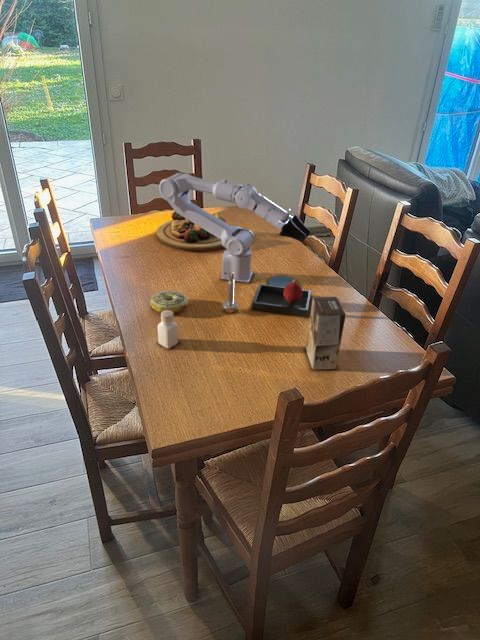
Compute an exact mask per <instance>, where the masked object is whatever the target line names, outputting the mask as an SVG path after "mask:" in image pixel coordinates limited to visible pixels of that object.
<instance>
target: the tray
mask: <svg viewBox="0 0 480 640" xmlns="http://www.w3.org/2000/svg"><path fill="white" fill-rule="evenodd" d="M284 288H285V287H280V286H272V285H269V284H265V283H259V284H258V287H257V290H256V292H255V295H254V298H253V300H252V307H251V310H255V311H261V312H267V313H274V314H281V315H288V316H295V317H303V318H308V313H309V307H310V302H311V295H312V290H309V289H302V297H301V299H300V300H299V301H297V302H295V303H293V304H291V303H289V302H288V301H287V300H286V299H285V297H284V295H283V292H284Z"/></svg>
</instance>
